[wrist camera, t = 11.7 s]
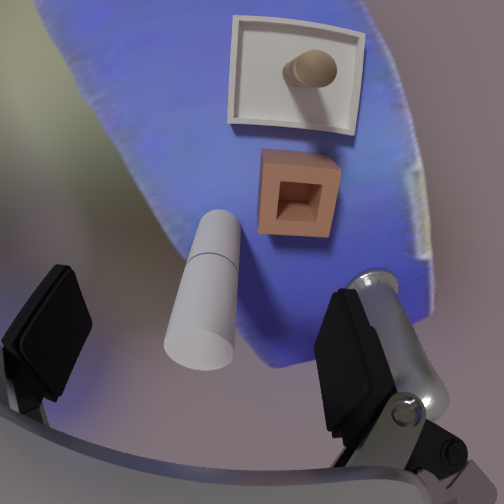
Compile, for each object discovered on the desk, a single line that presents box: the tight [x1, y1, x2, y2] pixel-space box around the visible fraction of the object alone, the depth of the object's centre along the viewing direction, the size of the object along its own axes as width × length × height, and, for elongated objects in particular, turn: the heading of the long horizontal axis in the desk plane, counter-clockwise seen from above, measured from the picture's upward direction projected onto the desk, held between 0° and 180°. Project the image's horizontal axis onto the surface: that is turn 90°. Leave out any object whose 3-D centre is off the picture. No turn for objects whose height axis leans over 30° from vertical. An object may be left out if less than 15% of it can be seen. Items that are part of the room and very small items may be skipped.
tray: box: [227, 15, 365, 136], centre depth 33 cm, size 16×18×2 cm
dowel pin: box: [282, 50, 337, 88], centre depth 28 cm, size 4×4×13 cm
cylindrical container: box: [164, 210, 241, 370], centre depth 37 cm, size 7×7×25 cm
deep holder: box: [257, 149, 342, 238], centre depth 40 cm, size 10×10×8 cm
